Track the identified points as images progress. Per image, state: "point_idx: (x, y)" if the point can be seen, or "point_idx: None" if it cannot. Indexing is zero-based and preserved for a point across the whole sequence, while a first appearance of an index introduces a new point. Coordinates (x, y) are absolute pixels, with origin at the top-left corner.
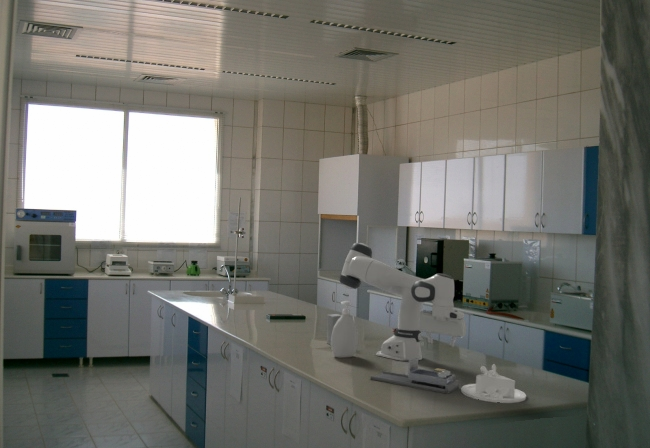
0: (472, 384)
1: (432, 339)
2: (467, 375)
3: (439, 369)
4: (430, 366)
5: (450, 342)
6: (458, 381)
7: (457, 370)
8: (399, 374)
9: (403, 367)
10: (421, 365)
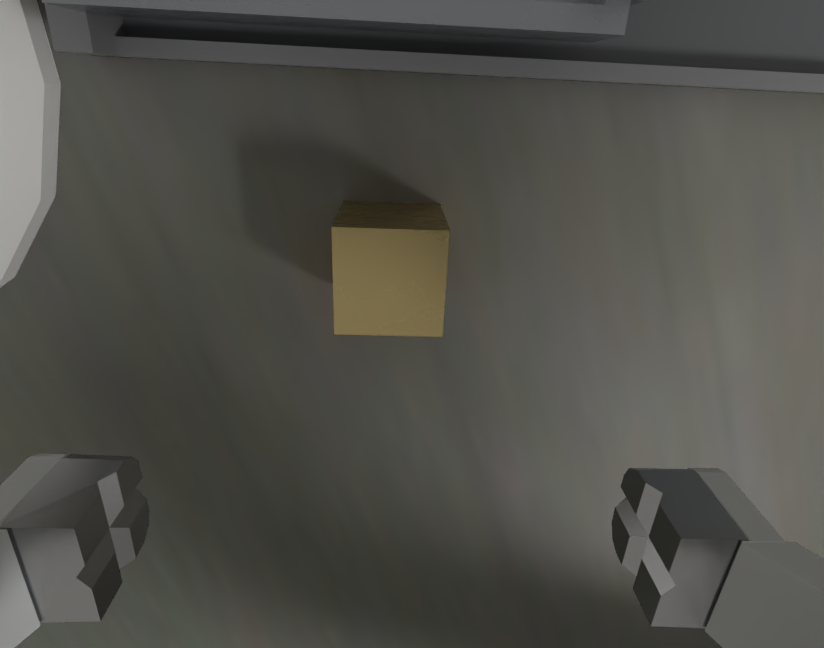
0: (10, 203)
1: (659, 591)
2: (265, 543)
3: (398, 292)
4: (590, 613)
5: (39, 524)
6: (58, 37)
7: (384, 623)
8: (815, 74)
9: (787, 475)
10: None
